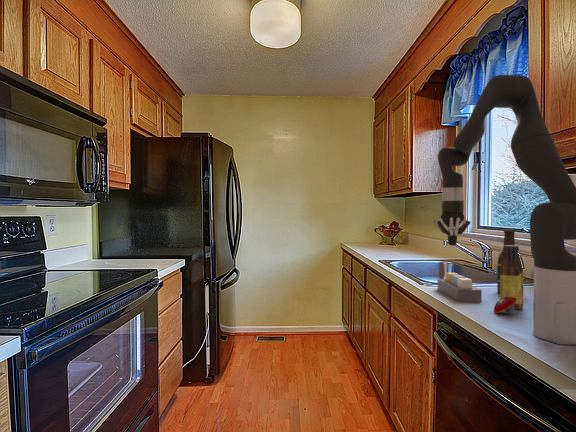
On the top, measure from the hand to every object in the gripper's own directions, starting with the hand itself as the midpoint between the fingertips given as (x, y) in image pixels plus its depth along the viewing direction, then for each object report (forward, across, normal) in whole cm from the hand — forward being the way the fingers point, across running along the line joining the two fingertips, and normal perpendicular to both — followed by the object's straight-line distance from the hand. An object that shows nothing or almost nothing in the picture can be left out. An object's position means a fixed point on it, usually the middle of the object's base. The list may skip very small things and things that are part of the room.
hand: (452, 245), depth 128 cm
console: (+18, 0, -5) cm, 18 cm away
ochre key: (+14, 0, 0) cm, 14 cm away
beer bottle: (+18, +20, -2) cm, 27 cm away
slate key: (+14, 0, -5) cm, 15 cm away
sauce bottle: (+18, +10, -20) cm, 29 cm away
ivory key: (+14, 0, -10) cm, 18 cm away
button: (+18, +4, -27) cm, 33 cm away
